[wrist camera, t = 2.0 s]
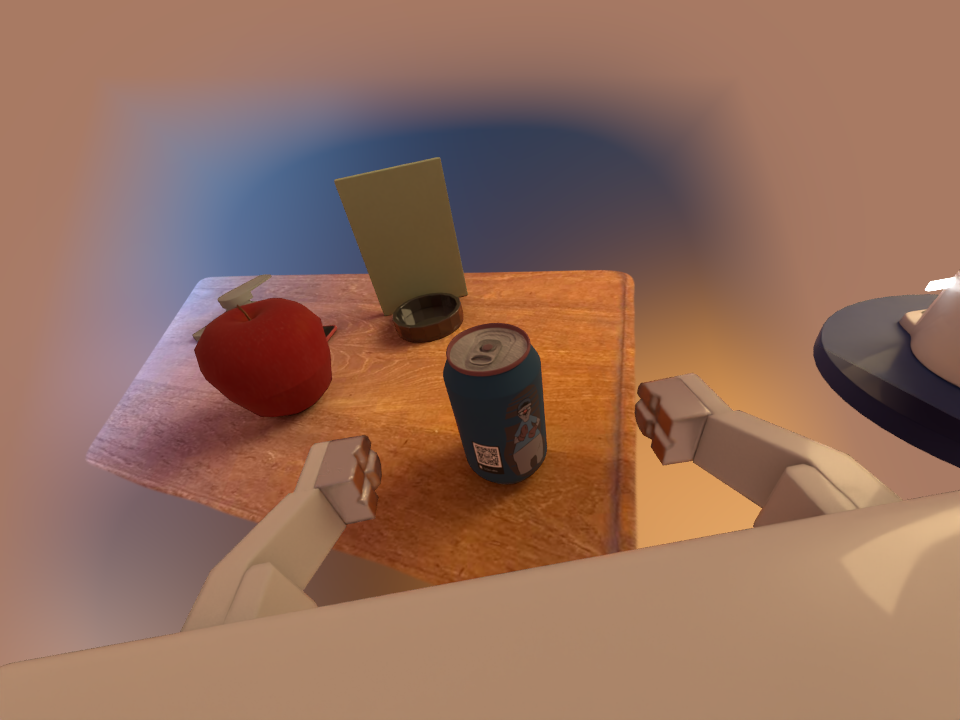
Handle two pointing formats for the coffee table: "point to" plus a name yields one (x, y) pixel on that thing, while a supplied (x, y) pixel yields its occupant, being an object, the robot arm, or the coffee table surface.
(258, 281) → the shower valve
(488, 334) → the soda can
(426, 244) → the olive green plank
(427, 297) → the holder
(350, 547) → the coffee table surface
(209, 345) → the apple
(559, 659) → the robot arm
